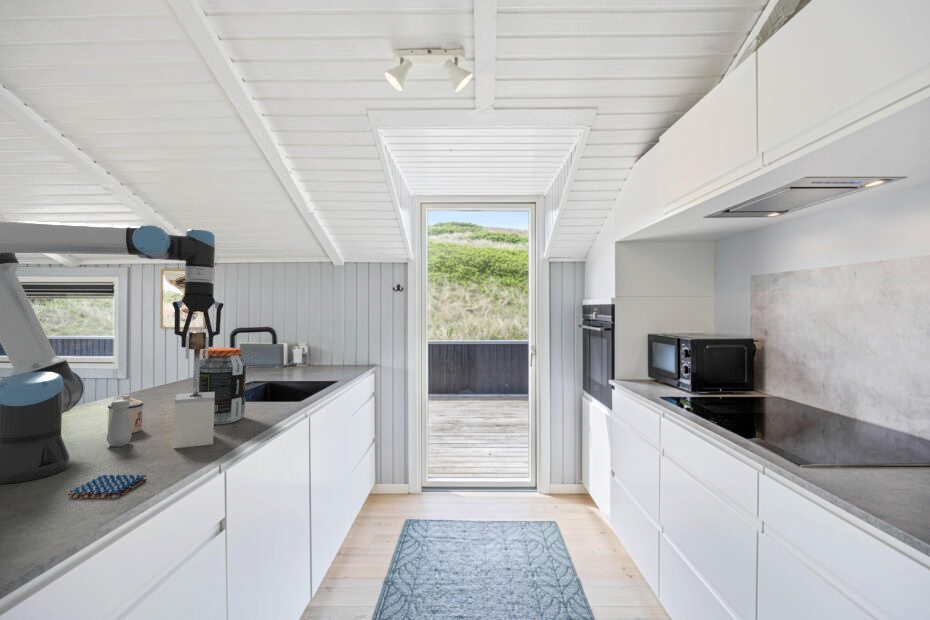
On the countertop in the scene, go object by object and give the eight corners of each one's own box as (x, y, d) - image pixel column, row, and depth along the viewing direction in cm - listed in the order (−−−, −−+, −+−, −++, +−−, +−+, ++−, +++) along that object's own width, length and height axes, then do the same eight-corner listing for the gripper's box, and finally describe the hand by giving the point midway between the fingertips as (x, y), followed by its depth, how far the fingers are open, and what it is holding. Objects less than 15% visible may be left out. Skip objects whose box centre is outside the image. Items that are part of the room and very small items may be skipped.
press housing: (173, 448, 127) (174, 400, 127) (176, 439, 136) (177, 393, 136) (213, 444, 132) (214, 397, 132) (213, 435, 140) (214, 391, 140)
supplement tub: (253, 419, 161) (255, 349, 161) (209, 428, 148) (211, 351, 148) (229, 412, 170) (231, 346, 170) (185, 420, 156) (187, 348, 156)
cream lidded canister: (142, 432, 141) (143, 396, 141) (105, 437, 135) (107, 399, 135) (142, 424, 150) (143, 390, 150) (108, 427, 145) (109, 392, 145)
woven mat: (101, 481, 103) (101, 473, 103) (148, 482, 104) (148, 473, 104) (64, 501, 93) (64, 491, 93) (116, 501, 94) (117, 491, 94)
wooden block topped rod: (180, 414, 129) (182, 333, 129) (182, 409, 135) (184, 331, 135) (208, 412, 132) (211, 333, 132) (209, 407, 139) (211, 331, 139)
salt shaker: (102, 445, 127) (103, 400, 127) (125, 440, 132) (126, 397, 132) (112, 449, 125) (114, 403, 125) (135, 443, 130) (136, 399, 130)
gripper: (163, 279, 126) (160, 360, 126) (232, 282, 135) (229, 358, 135) (166, 280, 133) (163, 357, 133) (231, 283, 141) (229, 356, 141)
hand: (196, 358), depth 134 cm, fingers closed on wooden block topped rod, 4 cm apart
